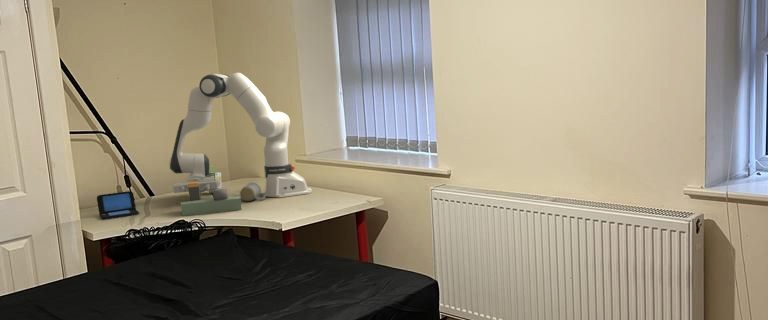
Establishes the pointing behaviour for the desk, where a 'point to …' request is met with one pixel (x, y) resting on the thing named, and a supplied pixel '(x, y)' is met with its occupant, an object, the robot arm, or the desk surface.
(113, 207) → the handheld game console
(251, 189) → the ceramic mug
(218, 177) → the ink box
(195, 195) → the dark grey tall block
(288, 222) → the desk surface
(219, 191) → the green platform block
